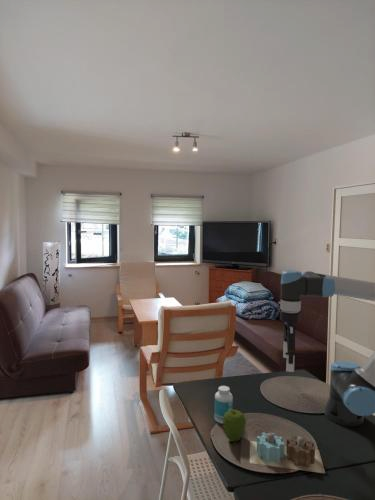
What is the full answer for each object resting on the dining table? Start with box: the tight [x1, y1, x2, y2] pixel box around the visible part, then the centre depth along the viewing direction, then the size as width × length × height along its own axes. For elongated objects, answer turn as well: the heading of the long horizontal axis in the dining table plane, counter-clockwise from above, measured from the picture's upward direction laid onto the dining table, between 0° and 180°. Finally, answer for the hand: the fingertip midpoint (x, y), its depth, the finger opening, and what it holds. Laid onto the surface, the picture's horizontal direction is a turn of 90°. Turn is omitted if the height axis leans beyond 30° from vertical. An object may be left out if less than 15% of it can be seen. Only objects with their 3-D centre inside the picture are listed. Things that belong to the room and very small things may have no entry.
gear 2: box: [286, 435, 316, 467], centre depth 118 cm, size 9×9×5 cm
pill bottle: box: [214, 385, 234, 425], centre depth 143 cm, size 8×7×14 cm
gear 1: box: [256, 431, 285, 463], centre depth 120 cm, size 9×9×5 cm
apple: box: [222, 409, 247, 443], centre depth 129 cm, size 9×8×12 cm
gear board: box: [249, 432, 326, 474], centre depth 119 cm, size 24×12×8 cm, turn 79°
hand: (288, 364), depth 135 cm, fingers open, 13 cm apart
